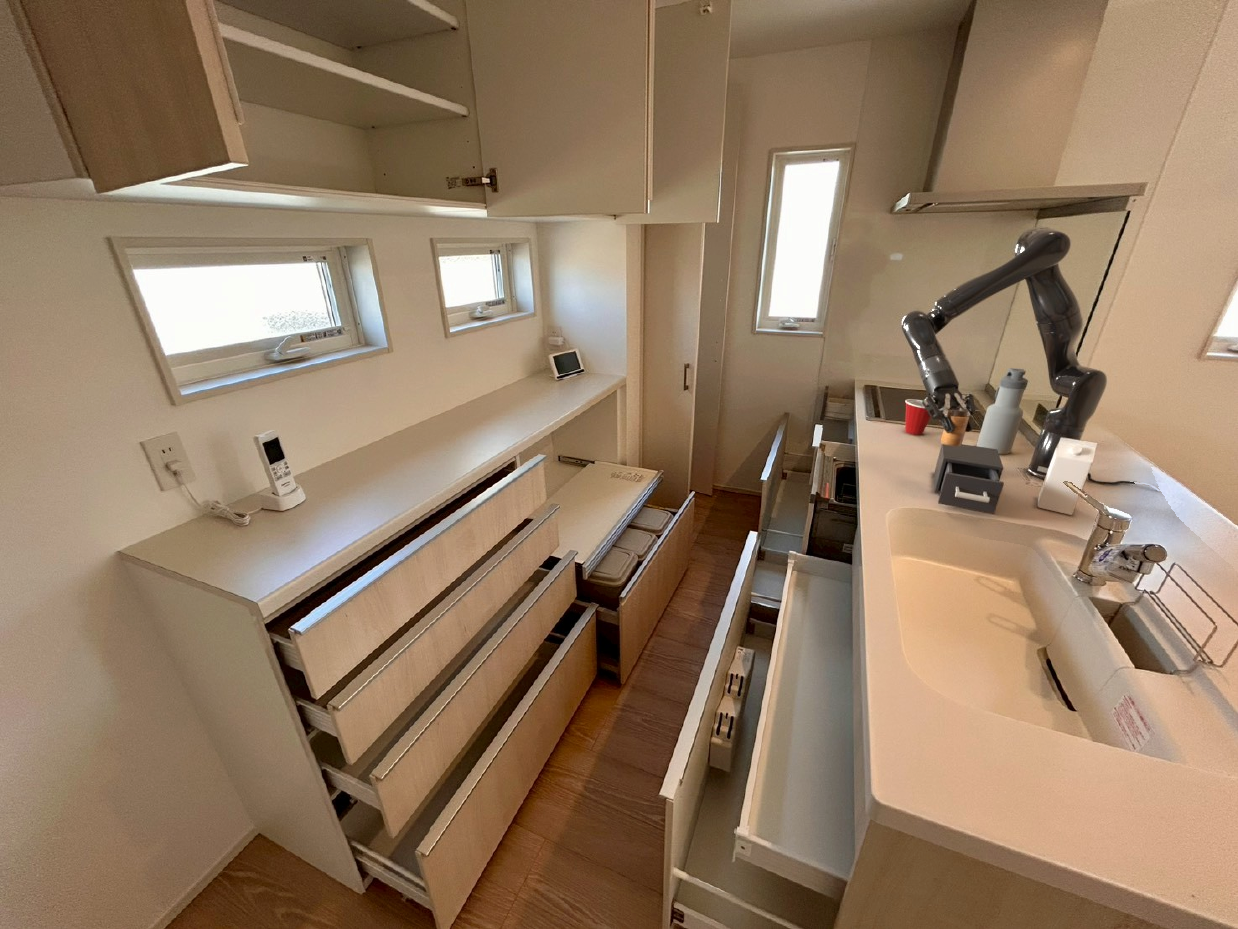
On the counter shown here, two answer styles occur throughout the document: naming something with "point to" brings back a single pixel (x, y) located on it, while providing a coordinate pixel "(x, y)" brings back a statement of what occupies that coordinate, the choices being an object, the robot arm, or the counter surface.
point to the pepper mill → (956, 427)
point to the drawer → (970, 487)
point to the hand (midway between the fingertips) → (960, 431)
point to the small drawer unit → (966, 460)
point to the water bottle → (1004, 413)
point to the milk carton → (1066, 475)
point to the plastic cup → (916, 417)
